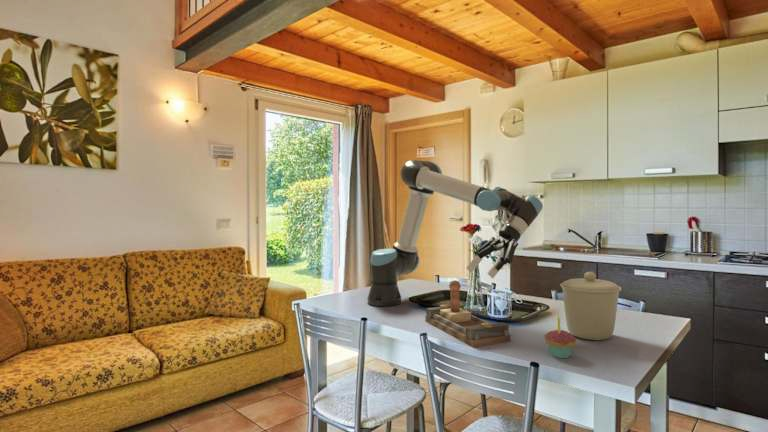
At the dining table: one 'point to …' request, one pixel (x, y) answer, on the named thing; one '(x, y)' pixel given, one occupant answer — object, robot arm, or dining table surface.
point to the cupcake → (560, 342)
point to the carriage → (455, 306)
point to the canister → (590, 306)
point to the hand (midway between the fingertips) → (479, 273)
